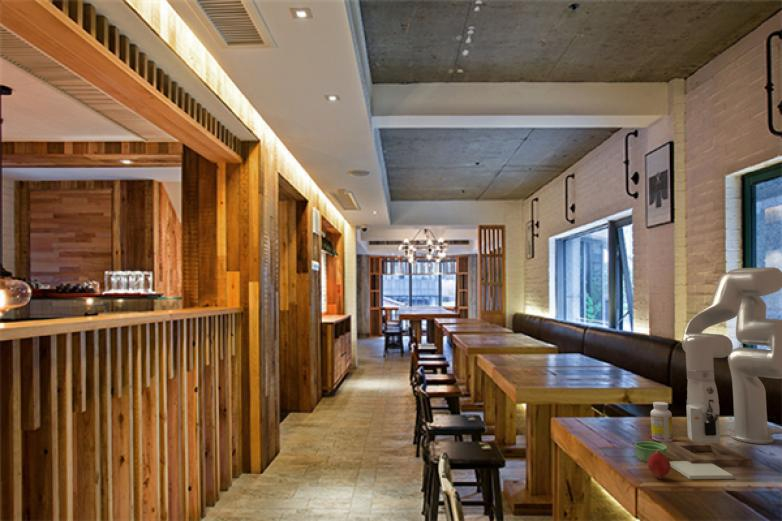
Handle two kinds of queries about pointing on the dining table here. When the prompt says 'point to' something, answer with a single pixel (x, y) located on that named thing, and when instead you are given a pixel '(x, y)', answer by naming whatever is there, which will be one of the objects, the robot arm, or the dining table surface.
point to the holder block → (721, 458)
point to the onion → (659, 464)
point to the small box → (700, 426)
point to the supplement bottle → (661, 422)
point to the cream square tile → (700, 470)
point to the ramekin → (648, 449)
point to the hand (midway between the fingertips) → (703, 431)
